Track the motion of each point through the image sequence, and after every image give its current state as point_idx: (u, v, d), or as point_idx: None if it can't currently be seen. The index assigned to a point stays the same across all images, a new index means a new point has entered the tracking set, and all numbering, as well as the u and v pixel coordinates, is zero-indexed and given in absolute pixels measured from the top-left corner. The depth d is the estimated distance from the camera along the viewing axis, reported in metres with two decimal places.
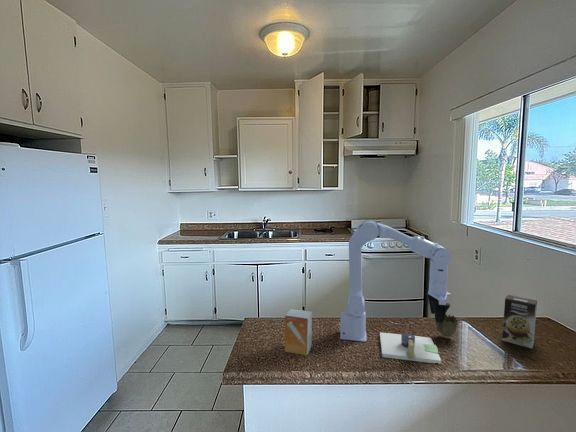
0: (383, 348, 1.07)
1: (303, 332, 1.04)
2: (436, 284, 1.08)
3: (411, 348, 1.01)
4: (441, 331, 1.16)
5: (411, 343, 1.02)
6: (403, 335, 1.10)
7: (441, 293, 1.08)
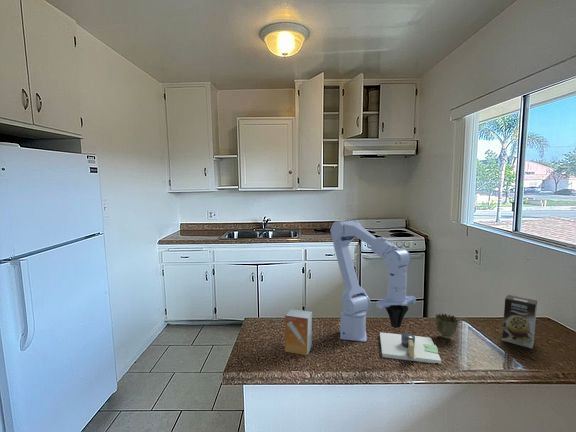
0: (383, 348, 1.07)
1: (303, 332, 1.04)
2: (388, 288, 1.02)
3: (411, 348, 1.01)
4: (441, 331, 1.16)
5: (411, 343, 1.02)
6: (403, 335, 1.10)
7: (390, 299, 1.01)
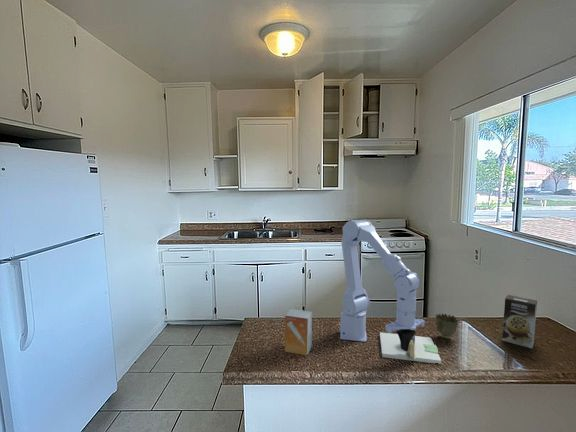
0: (383, 348, 1.07)
1: (303, 332, 1.04)
2: (397, 312, 1.03)
3: (411, 348, 1.01)
4: (441, 331, 1.16)
5: (411, 343, 1.02)
6: None
7: (399, 323, 1.01)
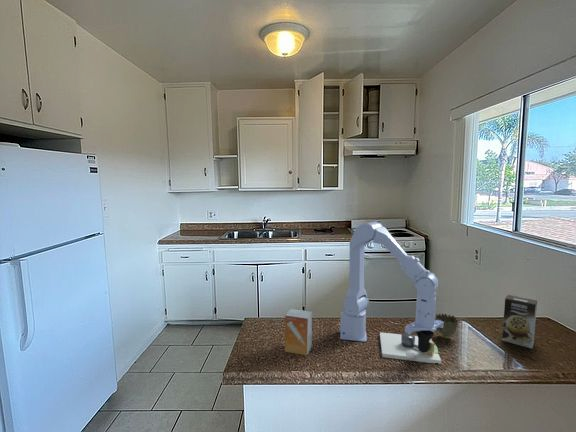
0: (383, 348, 1.07)
1: (303, 332, 1.04)
2: (416, 313, 1.02)
3: (433, 346, 1.02)
4: (441, 331, 1.16)
5: (429, 341, 1.03)
6: (405, 337, 1.08)
7: (419, 324, 1.01)
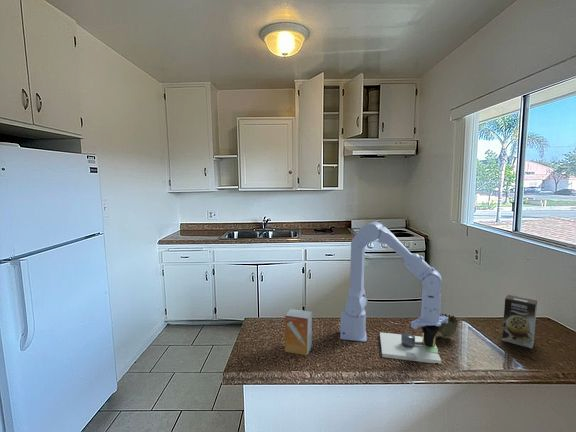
0: (383, 348, 1.07)
1: (303, 332, 1.04)
2: (422, 309, 1.06)
3: None
4: (441, 331, 1.16)
5: None
6: (409, 338, 1.08)
7: (425, 319, 1.04)
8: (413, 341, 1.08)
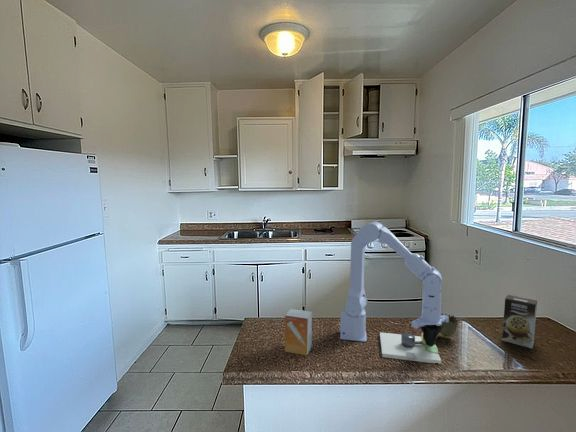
0: (383, 348, 1.07)
1: (303, 332, 1.04)
2: (422, 308, 1.06)
3: None
4: (441, 331, 1.16)
5: None
6: (409, 338, 1.08)
7: (425, 319, 1.05)
8: (413, 341, 1.08)
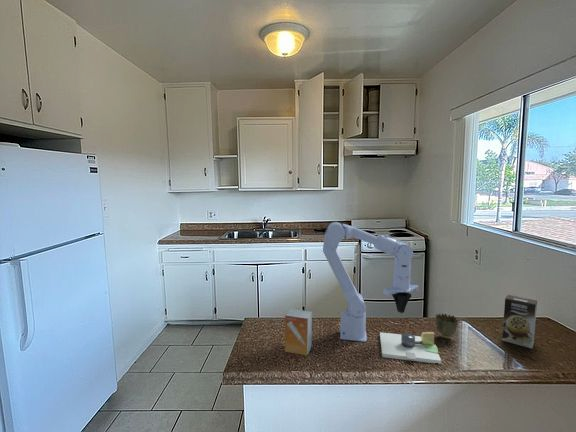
0: (383, 348, 1.07)
1: (303, 332, 1.04)
2: (394, 277, 1.15)
3: None
4: (441, 331, 1.16)
5: (429, 332, 1.10)
6: (409, 338, 1.08)
7: (396, 287, 1.14)
8: (413, 341, 1.08)
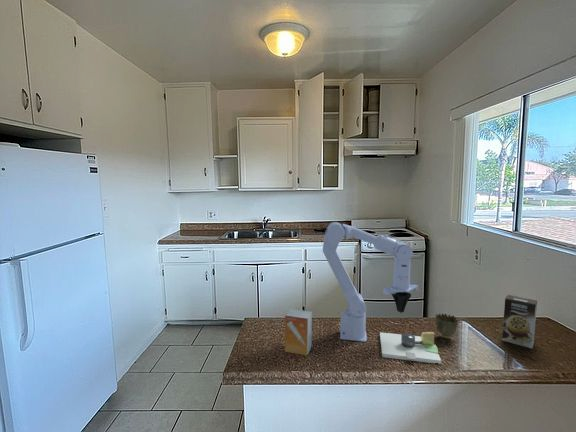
0: (383, 348, 1.07)
1: (303, 332, 1.04)
2: (393, 277, 1.15)
3: None
4: (441, 331, 1.16)
5: (429, 332, 1.10)
6: (409, 338, 1.08)
7: (396, 287, 1.14)
8: (413, 341, 1.08)
